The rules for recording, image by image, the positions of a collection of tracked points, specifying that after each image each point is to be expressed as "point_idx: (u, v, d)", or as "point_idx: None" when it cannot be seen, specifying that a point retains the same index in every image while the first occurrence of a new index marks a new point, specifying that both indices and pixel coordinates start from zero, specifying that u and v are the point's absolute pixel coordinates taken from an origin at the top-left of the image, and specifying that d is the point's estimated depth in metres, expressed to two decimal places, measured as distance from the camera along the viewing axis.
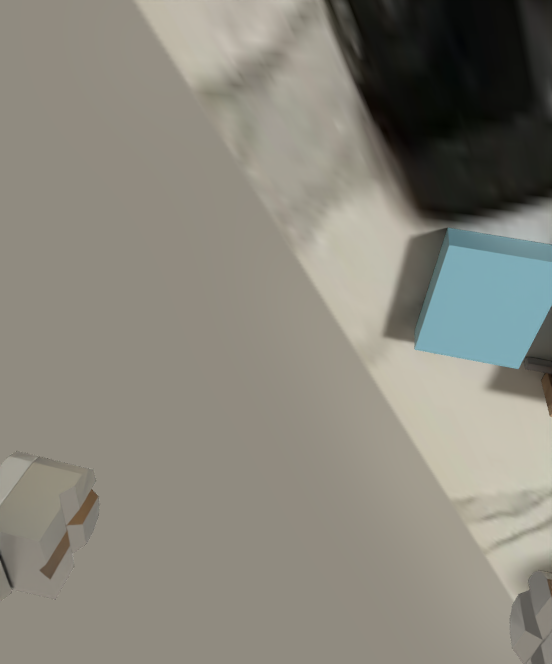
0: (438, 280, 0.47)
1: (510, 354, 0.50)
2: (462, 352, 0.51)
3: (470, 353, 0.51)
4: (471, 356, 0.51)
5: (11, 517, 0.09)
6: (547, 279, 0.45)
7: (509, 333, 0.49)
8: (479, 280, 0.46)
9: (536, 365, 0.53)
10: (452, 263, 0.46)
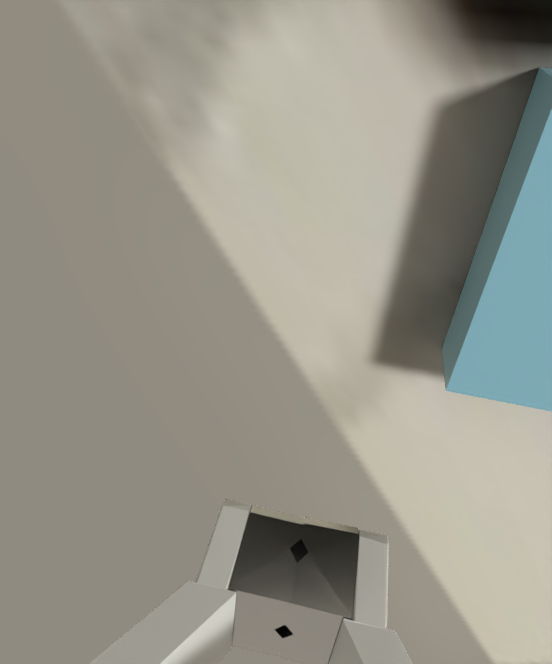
0: (518, 203, 0.17)
1: None
2: None
3: None
4: None
5: (251, 575, 0.08)
6: None
7: None
8: None
9: None
10: None
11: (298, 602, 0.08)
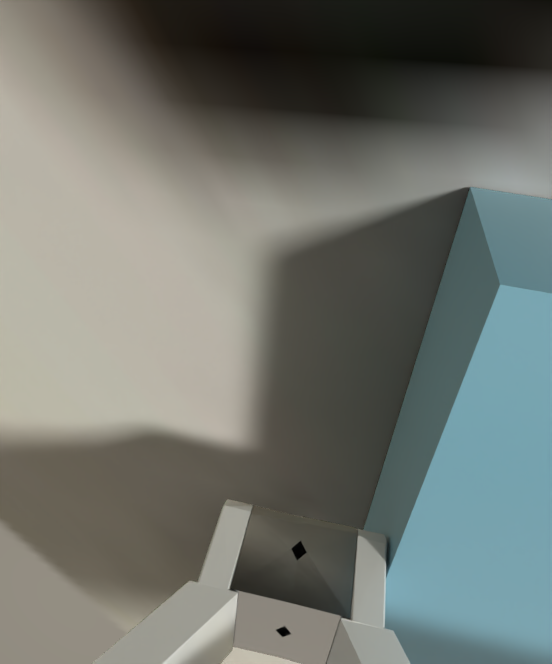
0: (420, 505, 0.08)
1: None
2: None
3: None
4: None
5: (253, 576, 0.08)
6: None
7: None
8: None
9: None
10: (517, 418, 0.06)
11: (296, 601, 0.08)
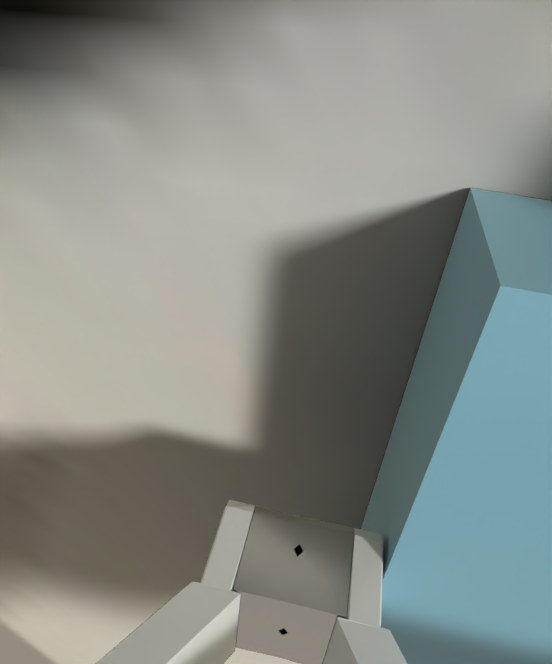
0: (418, 506, 0.08)
1: None
2: None
3: None
4: None
5: (255, 576, 0.08)
6: None
7: None
8: None
9: None
10: (516, 419, 0.06)
11: (293, 600, 0.08)
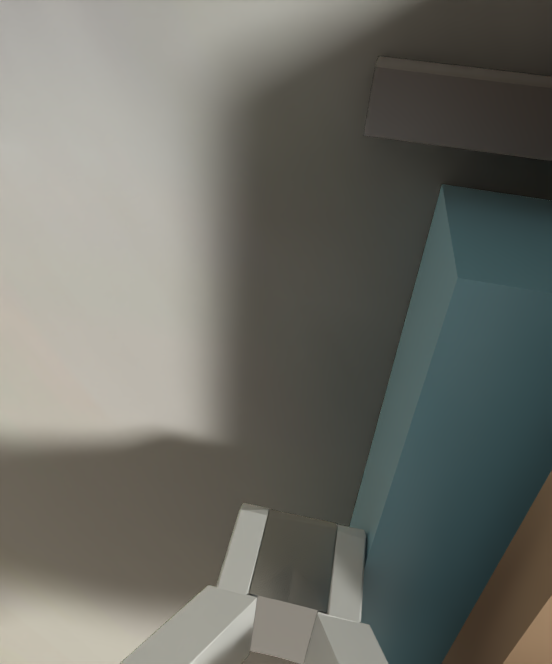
0: (392, 499, 0.08)
1: None
2: None
3: None
4: None
5: (271, 580, 0.08)
6: None
7: None
8: None
9: None
10: (481, 410, 0.06)
11: (274, 596, 0.08)
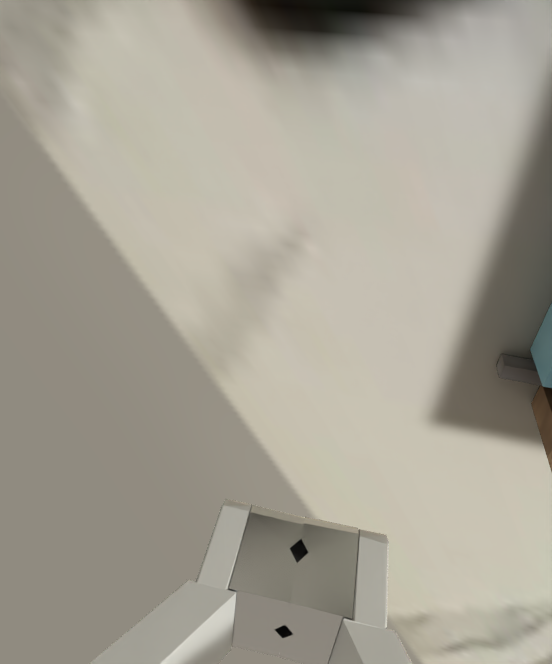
0: None
1: None
2: None
3: None
4: None
5: (251, 575, 0.08)
6: None
7: None
8: None
9: (520, 369, 0.27)
10: None
11: (298, 602, 0.08)
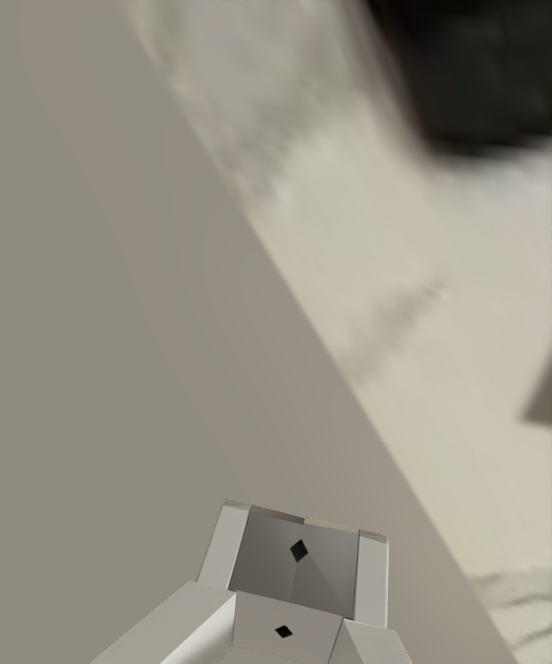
0: None
1: None
2: None
3: None
4: None
5: (251, 575, 0.08)
6: None
7: None
8: None
9: None
10: None
11: (298, 602, 0.08)
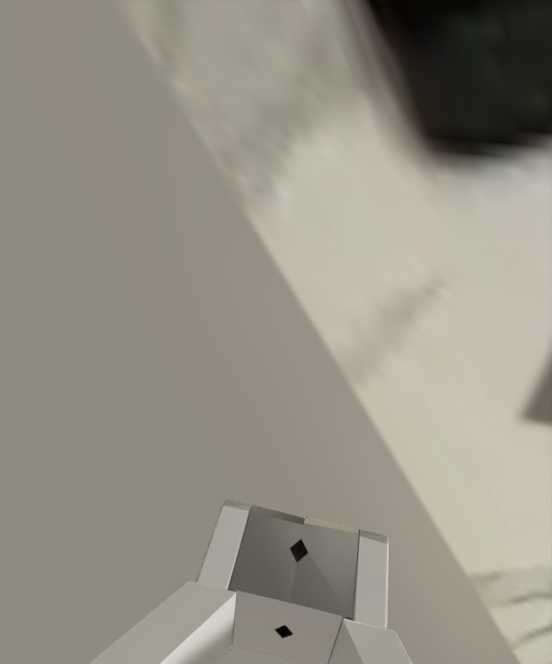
0: None
1: None
2: None
3: None
4: None
5: (251, 575, 0.08)
6: None
7: None
8: None
9: None
10: None
11: (298, 602, 0.08)
